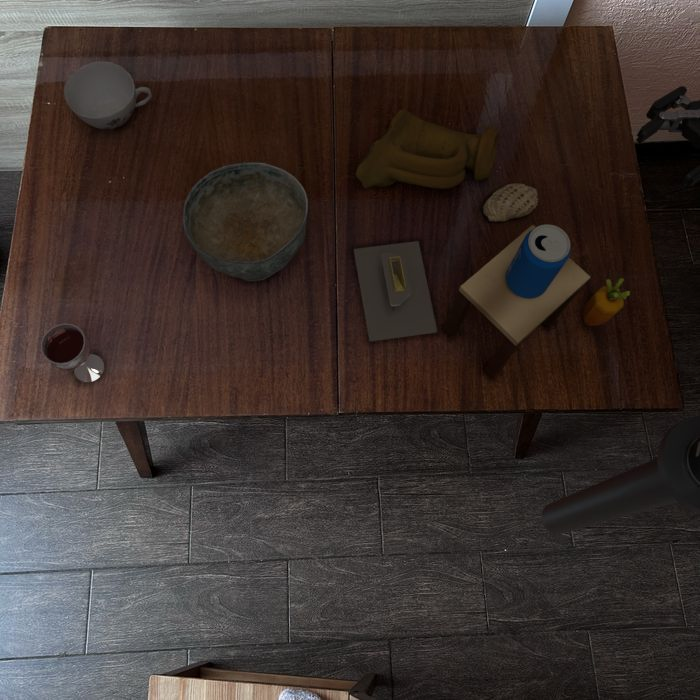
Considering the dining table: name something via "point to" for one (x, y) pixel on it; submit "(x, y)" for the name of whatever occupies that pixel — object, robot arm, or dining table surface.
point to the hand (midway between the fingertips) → (661, 159)
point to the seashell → (510, 202)
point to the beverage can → (538, 261)
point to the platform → (394, 291)
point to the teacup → (103, 94)
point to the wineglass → (71, 352)
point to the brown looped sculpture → (426, 154)
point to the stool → (513, 302)
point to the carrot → (604, 304)
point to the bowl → (246, 219)
